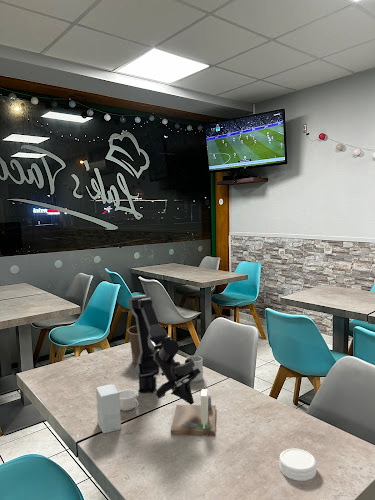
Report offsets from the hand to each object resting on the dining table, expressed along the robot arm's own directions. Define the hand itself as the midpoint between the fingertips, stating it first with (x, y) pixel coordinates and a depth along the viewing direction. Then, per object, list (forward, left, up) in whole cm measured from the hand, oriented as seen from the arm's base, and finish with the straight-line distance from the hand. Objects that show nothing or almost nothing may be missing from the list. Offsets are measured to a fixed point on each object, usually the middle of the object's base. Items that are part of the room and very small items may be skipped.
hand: (192, 403), depth 134 cm
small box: (-29, -3, -7) cm, 30 cm away
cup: (-3, +35, -7) cm, 36 cm away
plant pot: (-28, +56, -7) cm, 63 cm away
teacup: (-25, +9, -7) cm, 27 cm away
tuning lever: (+4, +1, -5) cm, 7 cm away
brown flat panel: (0, +1, -7) cm, 7 cm away
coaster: (+31, -23, -8) cm, 39 cm away
